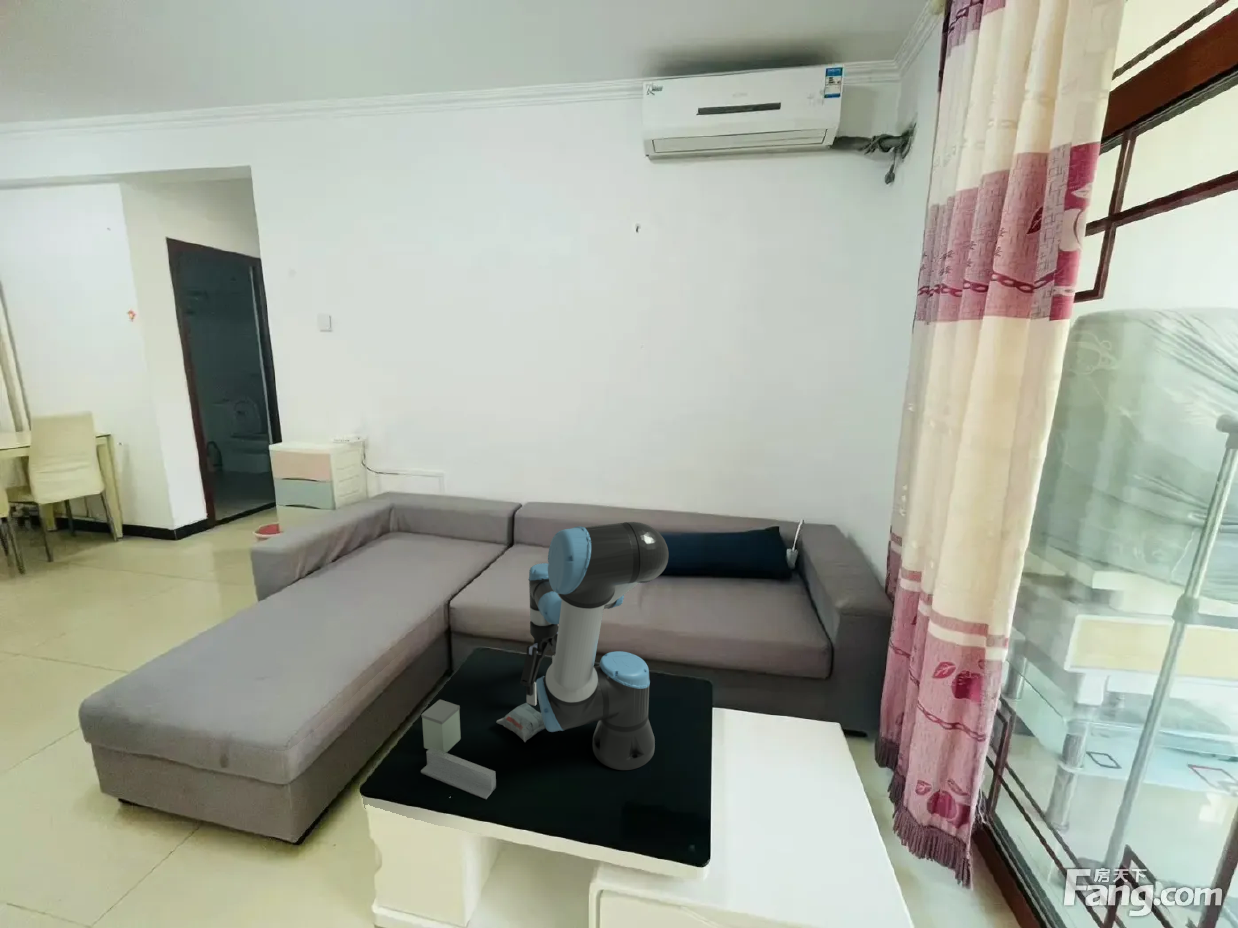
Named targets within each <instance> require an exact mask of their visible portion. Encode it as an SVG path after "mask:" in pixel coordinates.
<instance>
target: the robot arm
mask: <svg viewBox="0 0 1238 928" xmlns="http://www.w3.org/2000/svg"><path fill="white" fill-rule="evenodd" d="M668 547H669V546H668V545H667V543H666V540H665V538H664V537H663V536H662V535H661V533H660V532H659V531H658V530H656V529H655V528H653V527H652V526H650V525H648V524H645V523H642V522H638V521H626V522H619V523H617V522H616V523H610V524H609V523H608V524H602V525H594V526H593V525H591V526H579V525H578V526H574V527H572V528H565V529H562V530H559V531H557V532H556V533H555V534H554V536H553V537H552V539H551V542H550V545H549V548H548V554H547V562H548V563H546V562H545V563H543V562H542V563H537V564H534V565H532V566H531V567H530V568H529V571H528V573H529V575H528V587H529V620H530V622H529V629H530V630H529V632H530V635H531V636H532V638H533V644H532V645H527V646H526V656H525V660H524V665H523V670H522V674H521V677H520V685H522V686H525V694H526V703H528V704H529V705H530V706H536V705H537V704H538V703H539V708H540V713H541V714H542V718H543V722H544V725H545V729H546V730H547V731H548V732H551V733H554V732H558V731H559V732H560V731H562V732H563V731H565V730H569V729H573V728H576V727H581V726H583V725H588V724H592V723H596V722H597V725H596V728H595V730H594V733H593V735H592V752H593V754H594V756H595V758H596V759H597V760H598V761H599V762H600V763H601V764H602V765H604V766H606V767H608V768H611V769H614V770H617V771H618V770H619V771H630V770H636V769H638V768H641V767H643V766H645V765H646V764H647V763H648V762H649V761H651V759H652V758H653V756H654V753H655V748H656V747H655V746H656V745H655V743H656V742H655V741H656V740H655V736H654V733H653V729H652V726H651V723H650V720H649V705H650V704H649V702H650V699H649V698H650V683H651V680H650V671H649V670H650V669H649V666H648V665H647V663H646V661H645V660H644V659H643V658H641V657H640V656H639V655H636V654H634V653H632V652H631V653H630V652H628V651H622V650H621V651H620V650H618V651H610V652H608V653H605V654H604V655H603V656H601V659H600V661H599V665H595V660H596V654H597V649H598V643H599V638H600V633H601V626H602V621H603V620H602V619H603V615H604V610H605V609H607V610H611V609H613V608H615V607H620V606H621V605H622V604H623V602H624V599H625V598H624V597H625V595H626V594H627V593H629V592H630V591H631V590H632V589H634V588H635V587H636V586H638V585H639V584H647V583H650V582H652V581H653V580H655V579H656V578H657V577H659V576H660V575H661V574H662V573H663V572H664V571H665V569H666V568H667V565H668V562H669V548H668ZM550 650H551V652H552V653H553V655H552V656H551V659H552V660H551V661H552V662H551V664H550V665H549V666H548V668H547V670H546V673H545V676H544V675H542V676H541V677H538V678H537V675H538V672H539V668H540V666H541V662H542V660H543V659H544V658H545V656H546V654H547V652H548V651H550ZM594 665H595V666H594ZM536 678H537V679H536ZM537 699H538V701H537ZM537 702H538V703H537Z"/></svg>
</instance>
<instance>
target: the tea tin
mask: <svg viewBox="0 0 1238 928" xmlns="http://www.w3.org/2000/svg"><path fill="white" fill-rule="evenodd" d="M460 709H461V707H460V705H459V704H455V703H453V702H449V701H447V700H446V701H445V700H443V699H438V700H437V701H436V702H435V703H434V704H432V705H431V706H430V707H429V708H427V709H426V710H425V711H424V712H422V714H421V713H420V714H421V718H422V735H423V737H422V738H423V748H424V749H427V751H428V750H429V749H430V748H431V747H432V748H435V749H437V750H440V751H443V752H445V753H448V752H449V751H450V750H451V749H452V748H453V747H454V746H455V745H456V744H458V742H459V741H460V740H461V739H462V737H461V719H460Z"/></svg>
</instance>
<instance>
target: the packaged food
mask: <svg viewBox="0 0 1238 928" xmlns="http://www.w3.org/2000/svg"><path fill="white" fill-rule="evenodd" d="M496 723H497V724H499V725H502V726H503V727H504V728H506V729H507V730H509V731H512V732H513V733H514V734H516V735H517V736H518V737H519V738H520V739H521V740H523V742H524V743H526V742H527V741H528V740H530V739H531V738H532V737H534V736H536V734H537V733H539V732H541V731H543V730H545V729H546V728H545V725H544V722H543V718H542V714H541V711H538V710H536V709H535V708H534V707H532V705H531V704H528V703H527V702H525V703H522V704H520V705H518V706H516V707H515V708H513V709H512V710H511V711H510V712H509V713H507V714H506V715H505V716H504V717H502V718H500V719H497V720H496Z"/></svg>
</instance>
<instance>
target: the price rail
mask: <svg viewBox="0 0 1238 928" xmlns="http://www.w3.org/2000/svg"><path fill="white" fill-rule="evenodd" d="M420 773H421V774H422V775H426V776H427V777H430V778H433V779H435V780H437V781H440V782H442V783H444V784H447V785H449V786H452V787H454V788H457V789H460V790H462V791H464V792H466V793H469V794H471V795H474V796H476V797H480V798H482V799H484V800H487V799H488V798H489V797H490V795H491V794H492V793H493V791H495V789H496V788H497V779H496V771H495V770H493V769H491V768H490V769H489V768H487V767H485V766H482V765H479V764H477V763H474V762H471V761H468V760H466V759H463V758H461V757H459V756H457V755H453V754H450V753H448V752H447V753H445V752H443V751H440V750H437V749H435V748H432V747H431V748H430V749H429V750H428V749H427V750H426V766H424V767H423V768H422V769H421V770H420Z"/></svg>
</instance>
